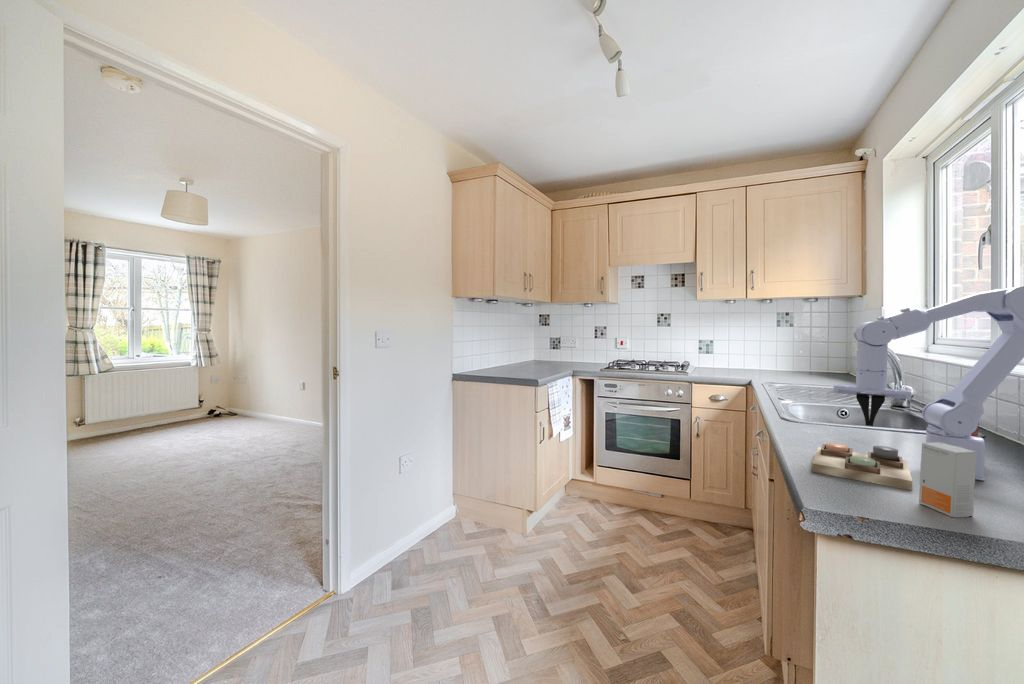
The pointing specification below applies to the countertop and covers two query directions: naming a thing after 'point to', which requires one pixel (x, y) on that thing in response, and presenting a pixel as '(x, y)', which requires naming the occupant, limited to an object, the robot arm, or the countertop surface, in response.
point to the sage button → (862, 461)
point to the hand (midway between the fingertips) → (869, 425)
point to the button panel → (863, 468)
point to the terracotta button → (837, 447)
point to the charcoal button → (885, 452)
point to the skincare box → (947, 479)
